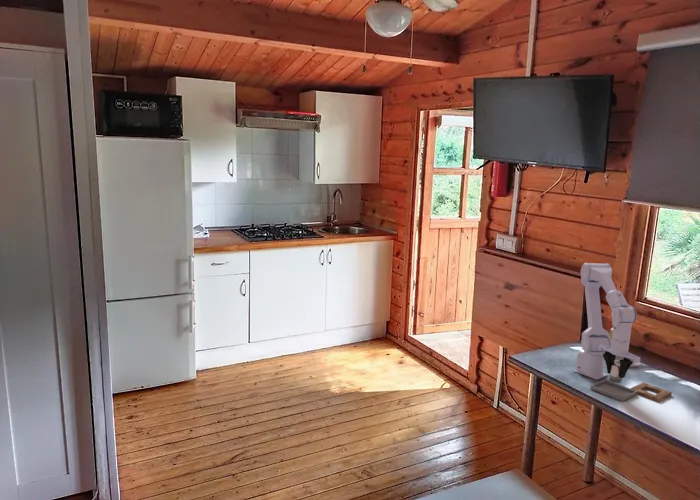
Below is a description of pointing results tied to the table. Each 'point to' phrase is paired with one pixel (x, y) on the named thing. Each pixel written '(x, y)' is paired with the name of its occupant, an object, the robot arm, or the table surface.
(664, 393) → the socket block
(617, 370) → the steel pin
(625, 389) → the tray
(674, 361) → the table surface
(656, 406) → the table surface
